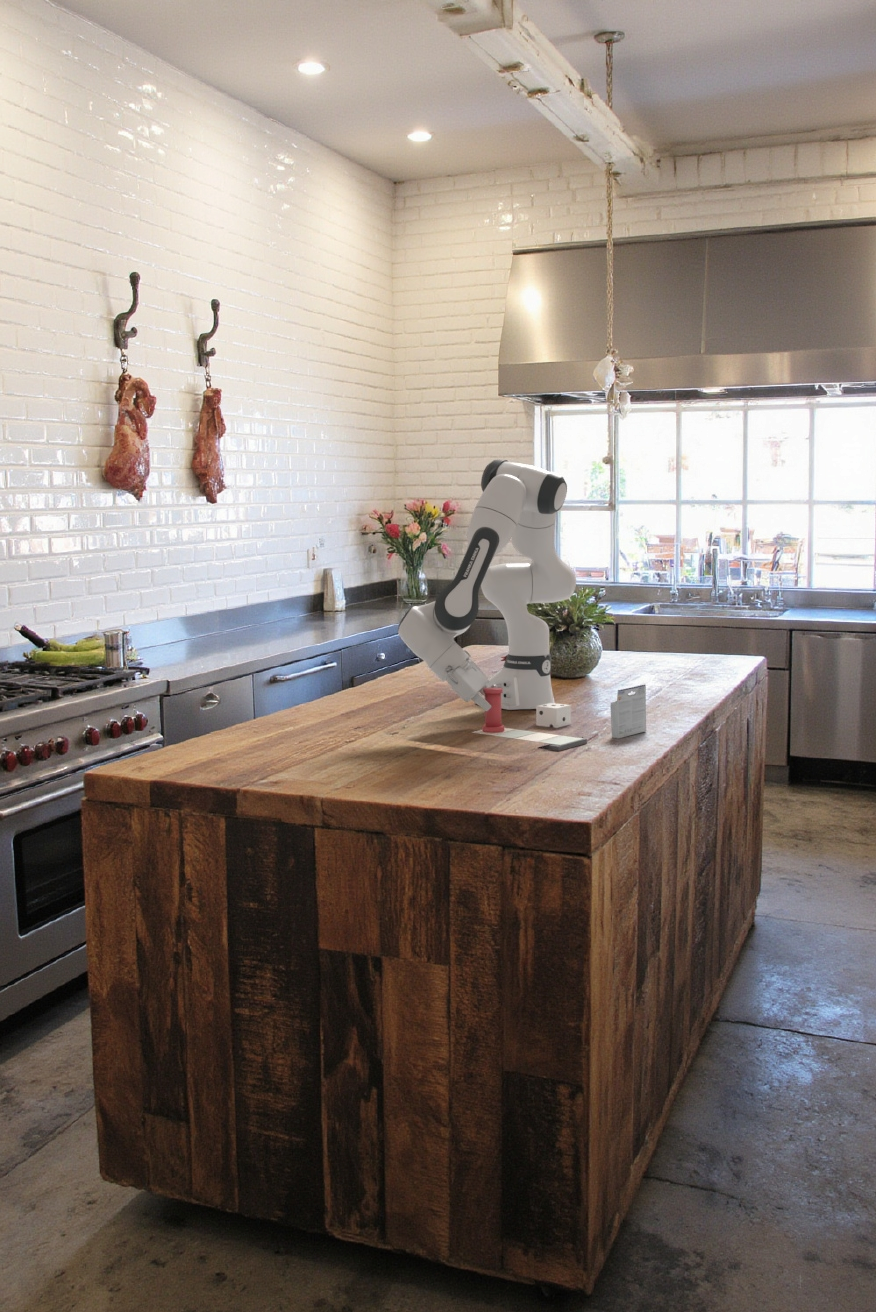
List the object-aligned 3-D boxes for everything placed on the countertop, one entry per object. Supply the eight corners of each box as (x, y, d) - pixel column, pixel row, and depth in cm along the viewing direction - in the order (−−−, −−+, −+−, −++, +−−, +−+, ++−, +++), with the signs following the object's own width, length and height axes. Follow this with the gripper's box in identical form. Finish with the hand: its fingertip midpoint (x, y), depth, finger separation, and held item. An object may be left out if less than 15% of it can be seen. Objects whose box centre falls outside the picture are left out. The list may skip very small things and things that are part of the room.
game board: (468, 737, 272) (468, 732, 272) (497, 730, 281) (497, 725, 281) (558, 751, 255) (558, 745, 255) (586, 743, 264) (586, 738, 264)
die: (536, 730, 281) (536, 705, 280) (550, 726, 285) (550, 702, 285) (556, 733, 277) (556, 708, 276) (571, 729, 281) (571, 704, 281)
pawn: (477, 731, 274) (477, 689, 273) (491, 727, 278) (491, 686, 277) (495, 733, 271) (494, 691, 269) (508, 730, 275) (508, 688, 273)
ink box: (638, 731, 278) (639, 683, 277) (646, 732, 276) (647, 684, 275) (609, 737, 270) (609, 688, 269) (617, 739, 268) (617, 689, 267)
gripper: (452, 660, 264) (495, 703, 263) (467, 650, 283) (507, 690, 283) (433, 679, 265) (476, 722, 264) (450, 668, 285) (489, 707, 284)
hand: (492, 705), depth 274 cm, fingers open, 8 cm apart
